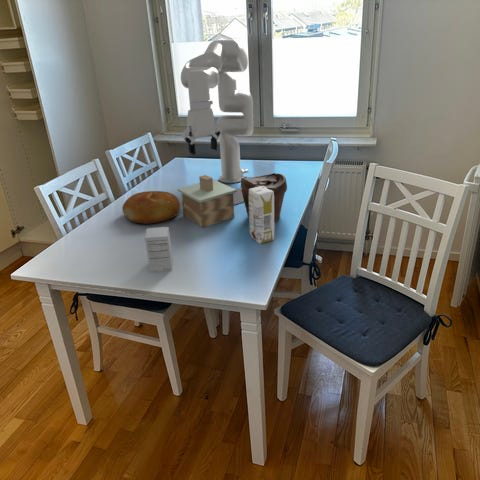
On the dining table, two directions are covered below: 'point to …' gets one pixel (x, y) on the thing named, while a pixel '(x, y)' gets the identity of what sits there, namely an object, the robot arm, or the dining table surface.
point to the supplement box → (159, 249)
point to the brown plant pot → (270, 182)
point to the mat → (238, 196)
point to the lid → (206, 189)
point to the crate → (208, 210)
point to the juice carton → (261, 214)
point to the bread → (151, 207)
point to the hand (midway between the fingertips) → (203, 151)
